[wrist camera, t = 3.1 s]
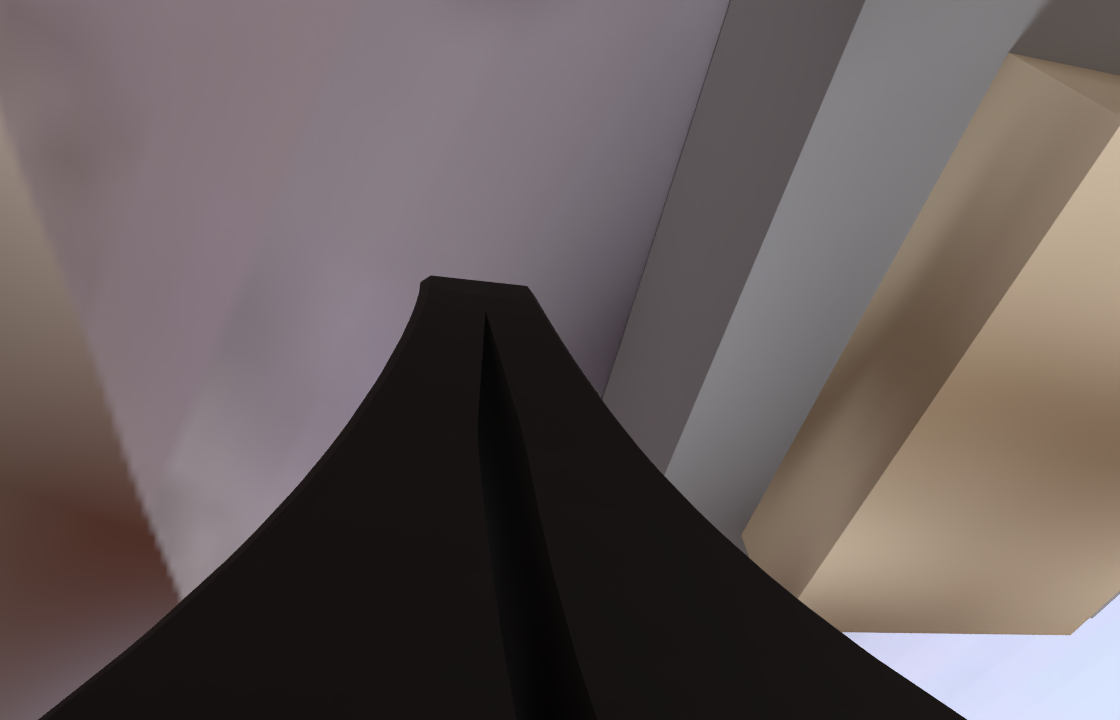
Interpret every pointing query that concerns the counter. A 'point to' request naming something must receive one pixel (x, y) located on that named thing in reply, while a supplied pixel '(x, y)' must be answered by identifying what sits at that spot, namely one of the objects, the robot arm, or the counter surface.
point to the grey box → (804, 214)
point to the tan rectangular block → (975, 392)
